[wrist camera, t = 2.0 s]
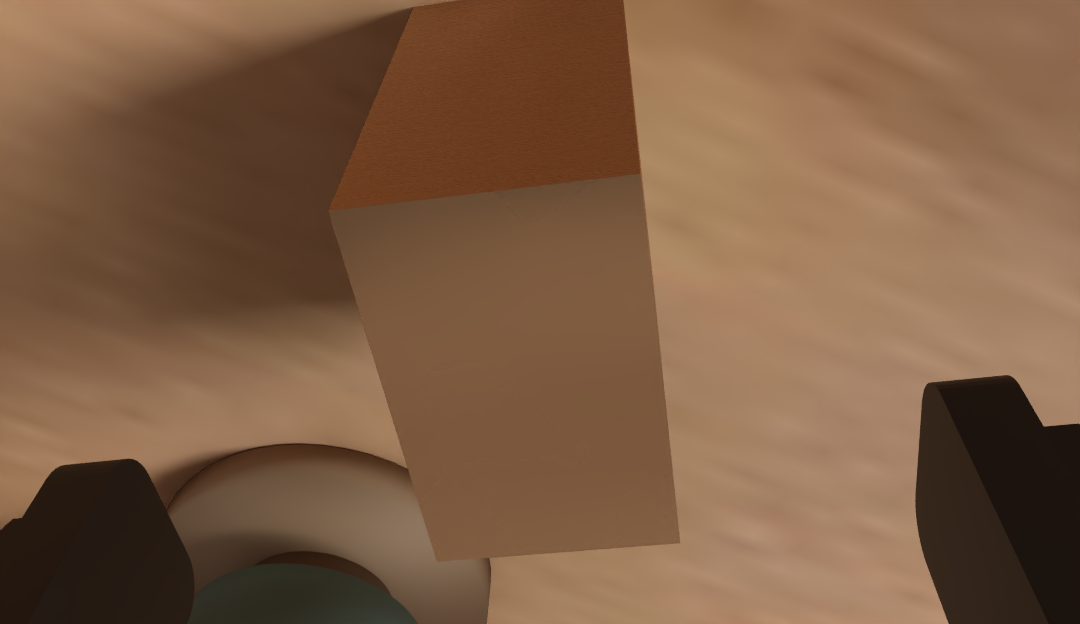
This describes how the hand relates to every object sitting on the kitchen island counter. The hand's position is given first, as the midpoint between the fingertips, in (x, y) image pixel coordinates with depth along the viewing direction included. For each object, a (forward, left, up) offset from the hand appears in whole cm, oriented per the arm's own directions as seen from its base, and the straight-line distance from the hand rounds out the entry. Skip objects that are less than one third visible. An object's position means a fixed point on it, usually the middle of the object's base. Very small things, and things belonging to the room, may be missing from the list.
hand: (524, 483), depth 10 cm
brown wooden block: (0, 0, -7) cm, 7 cm away
